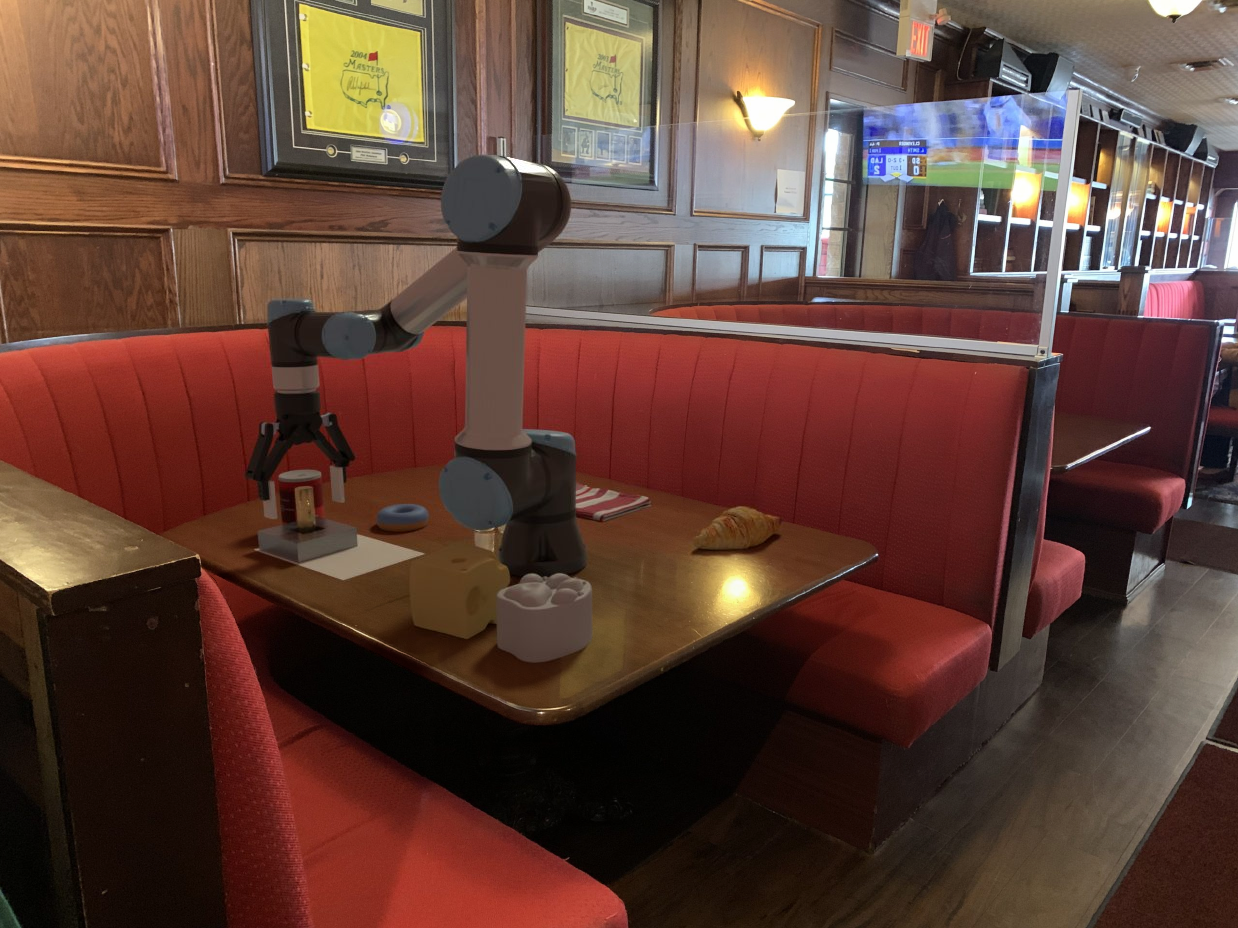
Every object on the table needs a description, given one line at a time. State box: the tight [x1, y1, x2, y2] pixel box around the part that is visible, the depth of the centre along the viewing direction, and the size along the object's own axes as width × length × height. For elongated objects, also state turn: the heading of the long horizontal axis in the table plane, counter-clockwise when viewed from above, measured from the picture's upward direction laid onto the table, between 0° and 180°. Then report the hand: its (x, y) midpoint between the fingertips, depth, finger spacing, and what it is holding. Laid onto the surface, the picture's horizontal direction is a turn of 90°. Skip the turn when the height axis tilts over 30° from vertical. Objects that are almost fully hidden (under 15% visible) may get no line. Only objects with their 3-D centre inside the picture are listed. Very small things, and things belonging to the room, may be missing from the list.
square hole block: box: [257, 516, 358, 563], centre depth 159 cm, size 12×12×4 cm
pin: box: [295, 486, 316, 534], centre depth 158 cm, size 3×3×11 cm
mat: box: [253, 533, 425, 581], centre depth 158 cm, size 26×17×1 cm, turn 53°
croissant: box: [692, 505, 782, 551], centre depth 165 cm, size 21×10×8 cm, turn 126°
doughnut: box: [375, 503, 430, 533], centre depth 174 cm, size 10×10×5 cm
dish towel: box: [576, 481, 651, 522], centre depth 191 cm, size 17×23×3 cm
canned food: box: [277, 469, 325, 525], centre depth 171 cm, size 8×8×11 cm
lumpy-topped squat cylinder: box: [496, 573, 593, 663], centre depth 120 cm, size 10×13×9 cm
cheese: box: [408, 541, 511, 640], centre depth 127 cm, size 10×11×10 cm
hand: (305, 509), depth 158 cm, fingers open, 13 cm apart
